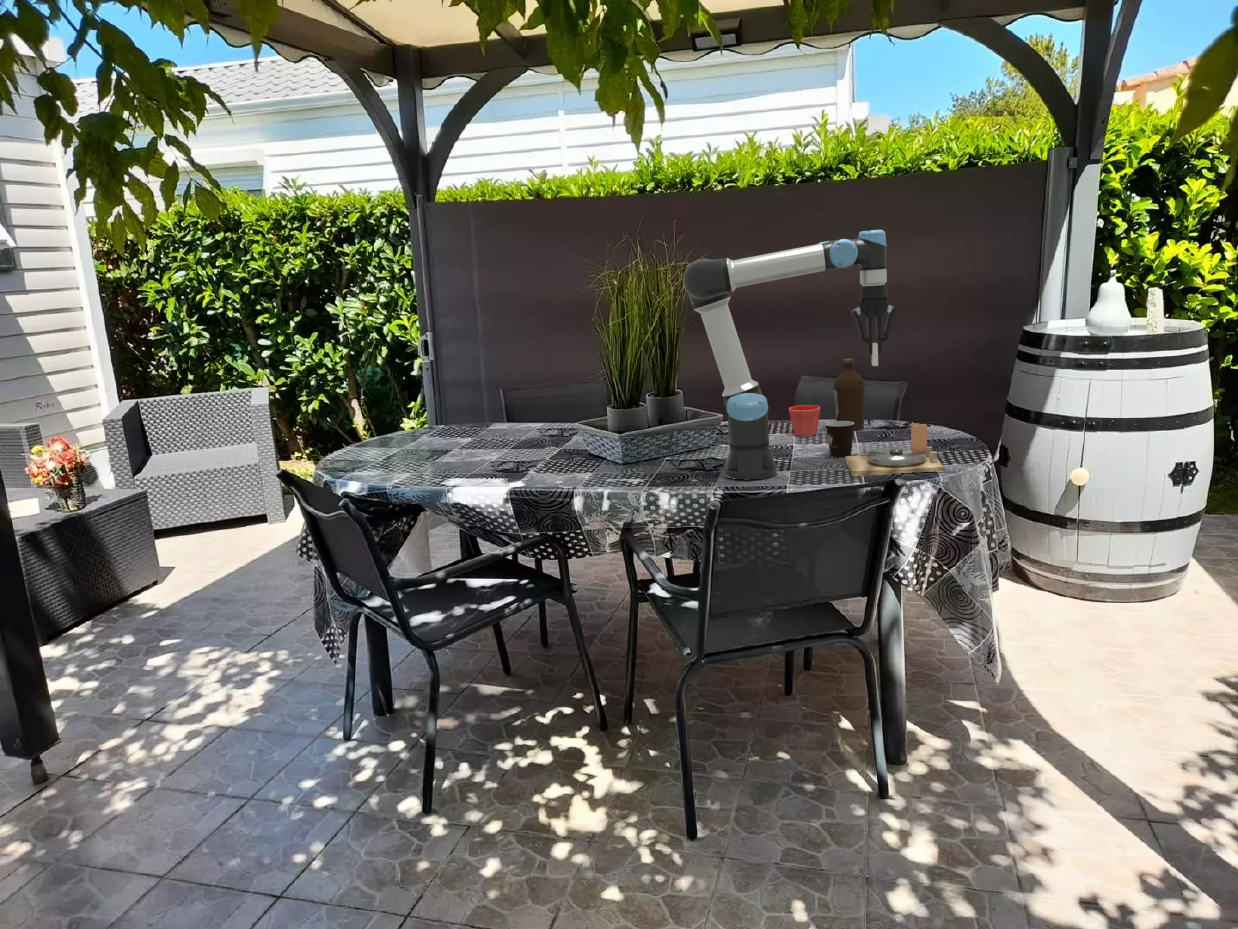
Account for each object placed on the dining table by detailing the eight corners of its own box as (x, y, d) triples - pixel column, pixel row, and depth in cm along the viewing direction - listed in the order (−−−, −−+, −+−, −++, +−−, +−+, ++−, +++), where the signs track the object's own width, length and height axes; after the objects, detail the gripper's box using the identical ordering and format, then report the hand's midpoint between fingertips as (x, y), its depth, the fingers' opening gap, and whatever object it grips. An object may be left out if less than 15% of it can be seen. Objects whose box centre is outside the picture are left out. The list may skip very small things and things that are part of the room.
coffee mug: (855, 457, 269) (855, 425, 267) (827, 458, 271) (826, 426, 269) (853, 449, 280) (852, 418, 278) (826, 450, 282) (825, 420, 280)
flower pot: (824, 436, 304) (823, 408, 302) (792, 438, 305) (791, 410, 303) (817, 430, 315) (817, 403, 313) (787, 432, 315) (786, 406, 313)
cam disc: (874, 468, 247) (873, 433, 244) (862, 456, 262) (861, 423, 260) (934, 464, 245) (934, 429, 243) (918, 452, 261) (918, 419, 259)
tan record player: (852, 476, 247) (851, 460, 246) (845, 461, 265) (845, 446, 264) (944, 472, 243) (944, 456, 242) (931, 457, 261) (931, 442, 260)
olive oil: (866, 425, 316) (865, 356, 310) (864, 431, 306) (862, 360, 301) (836, 426, 320) (834, 357, 314) (833, 431, 310) (831, 361, 304)
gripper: (894, 282, 257) (895, 362, 263) (849, 286, 260) (851, 365, 265) (898, 283, 250) (899, 365, 255) (851, 286, 252) (853, 368, 258)
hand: (874, 365), depth 260 cm, fingers closed
